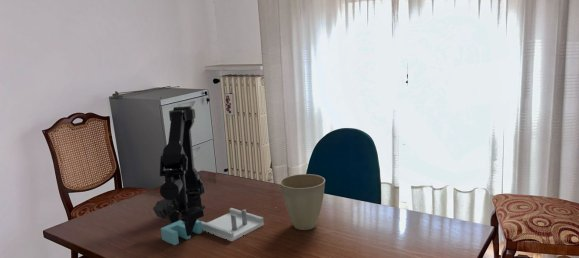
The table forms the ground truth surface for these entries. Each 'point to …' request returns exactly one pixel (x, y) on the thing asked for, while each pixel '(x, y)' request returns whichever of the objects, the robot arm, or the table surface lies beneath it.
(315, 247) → the table surface
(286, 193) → the plant pot
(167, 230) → the teal notched block
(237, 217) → the board
